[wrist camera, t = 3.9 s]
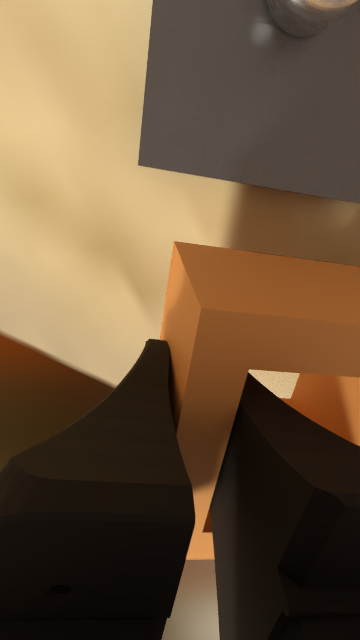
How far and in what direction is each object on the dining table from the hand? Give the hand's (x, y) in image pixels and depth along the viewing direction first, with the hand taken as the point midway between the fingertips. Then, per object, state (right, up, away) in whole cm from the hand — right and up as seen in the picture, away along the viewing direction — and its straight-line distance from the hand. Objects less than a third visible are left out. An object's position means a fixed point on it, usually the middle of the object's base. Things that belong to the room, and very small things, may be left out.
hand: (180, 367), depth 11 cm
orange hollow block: (+3, +1, +2) cm, 4 cm away
